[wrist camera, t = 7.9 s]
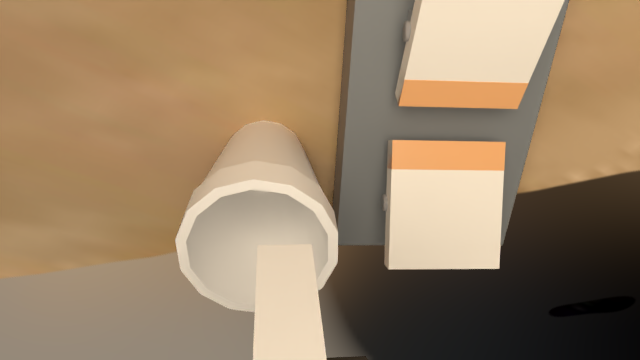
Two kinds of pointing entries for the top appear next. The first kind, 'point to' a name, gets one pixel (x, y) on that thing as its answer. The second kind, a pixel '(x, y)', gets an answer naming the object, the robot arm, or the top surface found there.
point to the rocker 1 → (472, 51)
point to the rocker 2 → (443, 204)
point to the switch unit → (410, 118)
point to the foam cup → (254, 215)
